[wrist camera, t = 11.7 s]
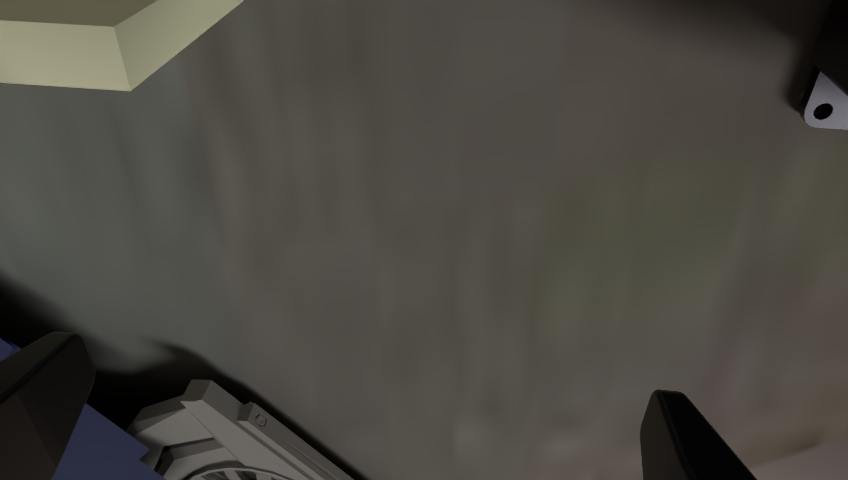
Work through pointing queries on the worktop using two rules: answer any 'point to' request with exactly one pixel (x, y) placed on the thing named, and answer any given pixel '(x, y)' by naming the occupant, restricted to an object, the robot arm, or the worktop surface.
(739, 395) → the worktop surface
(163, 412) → the graphics card
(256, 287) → the worktop surface
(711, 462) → the robot arm
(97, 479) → the navy flat panel
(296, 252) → the worktop surface
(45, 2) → the equipment case
